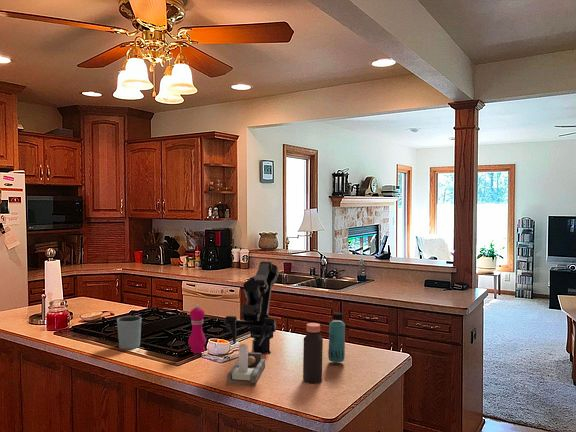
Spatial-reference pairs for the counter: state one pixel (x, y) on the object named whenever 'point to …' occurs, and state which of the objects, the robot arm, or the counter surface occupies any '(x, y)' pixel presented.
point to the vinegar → (312, 354)
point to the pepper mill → (197, 330)
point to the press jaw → (243, 365)
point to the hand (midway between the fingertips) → (246, 344)
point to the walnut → (251, 360)
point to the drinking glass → (129, 332)
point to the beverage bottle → (336, 339)
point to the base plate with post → (257, 367)
